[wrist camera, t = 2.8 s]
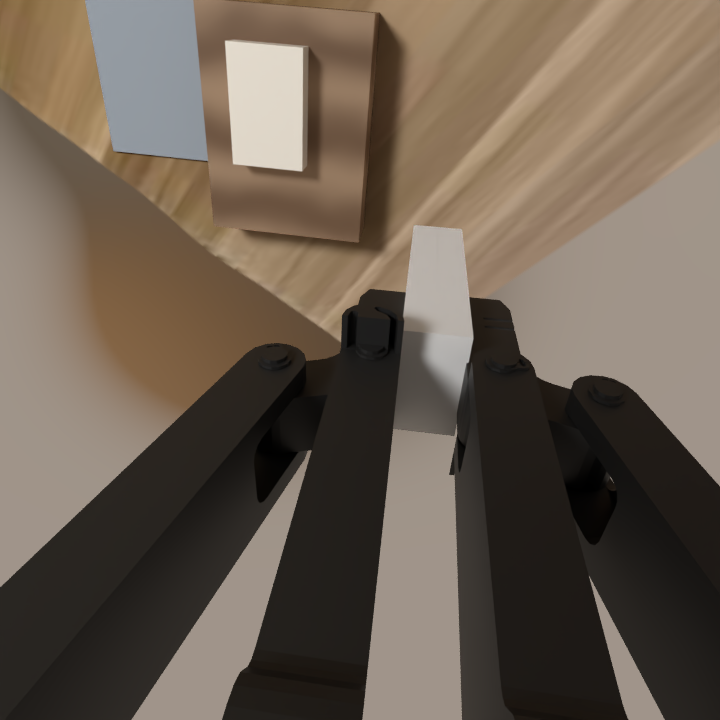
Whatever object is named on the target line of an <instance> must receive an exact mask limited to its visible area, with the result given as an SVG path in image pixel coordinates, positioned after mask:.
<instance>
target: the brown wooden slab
mask: <svg viewBox="0 0 720 720" xmlns="http://www.w3.org/2000/svg"><path fill="white" fill-rule="evenodd" d="M193 2H194V13H195V24H196V35H197V46H198V57H199V68H200V79H201V90H202V101H203V112H204V122H205V133H206V144H207V155H208V166H209V177H210V188H211V199H212V210H213V221H214V226H218V227H227V228H235V229H244V230H253V231H262V232H270V233H279V234H288V235H297V236H305V237H314V238H323V239H332V240H340V241H349V242H358V243H359V240H360V237H361V234H362V232H363V229H364V218H365V205H366V192H367V178H368V165H369V152H370V139H371V126H372V112H373V99H374V86H375V73H376V59H377V46H378V33H379V20H380V13H375V12H363V11H351V10H339V9H328V8H316V7H304V6H292V5H280V4H269V3H257V2H245V1H233V0H193ZM227 40H245V41H256V42H267V43H278V44H289V45H300V46H309V53H308V139H307V166H306V168H305V169H304V170H303V171H293V170H284V169H274V168H265V167H255V166H246V165H236V164H233V156H232V141H231V125H230V110H229V95H228V80H227V65H226V49H225V41H227Z"/></svg>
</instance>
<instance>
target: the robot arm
mask: <svg viewBox="0 0 720 720" xmlns="http://www.w3.org/2000/svg"><path fill="white" fill-rule="evenodd" d="M456 424H457V438H456V444H455V448H454V454H453V458H452V463H451V468H450V473H449V475H454V474H455V500H456V533H457V562H458V563H457V566H458V598H459V629H460V630H459V632H460V665H461V695H462V696H461V698H462V720H628V718H627V716H626V713H625V710H624V707H623V704H622V700H621V697H620V693H619V689H618V685H617V681H616V677H615V674H614V670H613V666H612V662H611V658H610V654H609V651H608V647H607V643H606V640H605V636H604V632H603V628H602V624H601V620H600V616H599V613H598V609H597V605H596V602H595V598H594V594H593V590H592V586H591V582H590V579H589V576H590V578H591V580H592V582H593V583H594V586H595V587H596V589H597V591H598V593H599V595H600V597H601V599H602V601H603V603H604V605H605V607H606V608H607V610H608V612H609V614H610V616H611V618H612V620H613V622H614V623H615V626H616V627H617V629H618V631H619V633H620V635H621V637H622V639H623V641H624V643H625V645H626V646H627V648H628V650H629V652H630V654H631V656H632V658H633V660H634V662H635V664H636V666H637V667H638V669H639V671H640V673H641V675H642V677H643V679H644V681H645V683H646V684H647V686H648V688H649V690H650V692H651V694H652V696H653V698H654V700H655V702H656V703H657V706H658V707H659V709H660V711H661V713H662V715H663V717H664V719H665V720H720V486H719V485H718V484H717V483H716V482H715V481H714V480H713V478H712V477H711V476H710V475H709V474H708V473H707V472H706V470H705V469H704V468H703V467H702V466H701V465H700V464H699V463H698V461H697V460H696V459H695V458H694V457H693V456H692V455H691V454H690V453H689V452H688V450H687V449H686V448H685V447H684V446H683V445H682V444H681V443H680V441H679V440H678V439H677V438H676V437H675V436H674V435H673V434H672V432H671V431H670V430H669V429H668V428H667V427H666V426H665V425H664V424H663V422H662V421H661V420H660V419H659V418H658V417H657V416H656V414H655V413H654V412H653V411H652V410H651V409H650V408H649V407H648V406H647V404H646V403H645V402H644V401H643V400H642V399H641V398H640V397H639V396H638V394H637V393H635V392H634V391H633V390H632V389H631V388H629V387H628V386H626V385H625V384H623V383H620V382H618V381H617V380H615V379H612V378H608V377H604V376H592V375H590V376H584V377H580V378H578V379H577V380H575V381H574V382H573V385H572V388H571V389H567V388H564V387H561V386H558V385H554V384H551V383H549V382H546V381H543V380H541V379H540V378H538V377H536V373H535V370H534V367H533V366H532V364H531V362H530V361H529V360H528V359H526V358H525V357H524V356H522V355H520V351H519V346H518V342H517V338H516V334H515V331H514V325H513V322H512V317H511V313H510V310H509V309H508V308H507V307H506V306H505V305H504V304H503V303H502V302H501V301H500V300H491V299H481V298H471V297H469V291H468V281H467V272H466V263H465V253H464V244H463V234H462V229H454V228H442V227H431V226H419V225H414V228H413V237H412V245H411V254H410V262H409V271H408V279H407V288H406V293H405V292H395V291H385V290H375V289H370V290H368V291H367V292H366V293H365V294H363V295H362V296H361V297H360V300H359V304H358V305H355V306H353V307H351V308H349V309H347V310H346V311H345V312H344V313H343V315H342V337H341V351H340V353H339V354H337V355H335V356H333V357H330V358H327V359H321V360H313V361H306V359H305V355H304V353H302V351H301V350H299V349H298V348H296V347H293V346H291V345H287V344H280V343H274V344H265V345H262V346H259V347H255V348H254V349H252V350H251V351H249V352H248V353H246V354H245V355H244V356H243V357H242V358H241V359H240V360H239V361H238V362H237V363H236V364H235V365H234V366H233V367H232V368H231V369H230V370H229V371H227V372H226V373H225V375H223V376H222V377H221V378H220V379H219V380H218V381H217V382H216V383H215V384H214V385H213V386H212V387H211V388H210V389H209V390H208V391H206V392H205V393H204V394H203V395H202V396H201V397H200V398H199V399H198V400H197V401H196V402H195V403H194V404H193V405H192V406H191V407H190V408H189V409H188V410H186V411H185V412H184V413H183V414H182V415H181V416H180V417H179V418H178V419H177V420H176V421H175V422H174V423H173V424H172V425H171V426H170V427H169V428H168V429H166V430H165V431H164V432H163V433H162V434H161V435H160V436H159V437H158V438H157V439H156V440H155V441H154V442H153V443H152V444H151V445H150V446H149V447H148V448H146V450H144V451H143V452H142V453H141V454H140V455H139V456H138V457H137V458H136V459H135V460H134V461H133V462H132V463H131V464H130V465H129V466H128V467H127V468H125V469H124V470H123V471H122V472H121V473H120V474H119V475H118V476H117V477H116V478H115V479H114V480H113V481H112V482H111V483H110V484H109V485H108V486H107V487H105V488H104V489H103V490H102V491H101V492H100V493H99V494H98V495H97V496H96V497H95V498H94V499H93V500H92V501H91V502H90V503H89V504H88V505H87V506H85V508H83V510H81V512H79V513H78V514H77V515H76V516H75V517H74V518H73V519H72V520H71V521H70V522H69V523H68V524H67V525H66V526H65V527H63V528H62V529H61V530H60V531H59V532H58V533H57V534H56V535H55V536H54V537H53V538H52V539H51V540H50V541H49V542H48V543H47V544H45V546H43V547H42V548H41V549H40V550H39V551H38V552H37V553H36V554H35V555H34V556H33V557H32V558H31V559H30V560H29V561H28V562H27V563H26V564H24V566H22V567H21V568H20V569H19V570H18V571H17V572H16V573H15V574H14V575H13V576H12V577H11V578H10V579H9V580H8V581H7V582H6V583H5V584H3V585H2V587H0V720H131V719H132V718H133V716H134V715H135V713H136V712H137V710H138V709H139V707H140V706H141V704H142V703H143V701H144V700H145V698H146V697H147V695H148V694H149V692H150V691H151V689H152V688H153V686H154V685H155V683H156V682H157V680H158V679H159V677H160V676H161V674H162V673H163V671H164V670H165V668H166V667H167V665H168V664H169V662H170V661H171V659H172V658H173V656H174V655H175V653H176V652H177V650H178V649H179V647H180V646H181V644H182V643H183V641H184V640H185V638H186V637H187V635H188V634H189V632H190V631H191V629H192V628H193V626H194V625H195V623H196V622H197V620H198V619H199V617H200V616H201V614H202V613H203V611H204V610H205V608H206V607H207V605H208V604H209V602H210V601H211V599H212V598H213V596H214V595H215V593H216V592H217V590H218V589H219V587H220V586H221V584H222V583H223V581H224V580H225V578H226V577H227V575H228V574H229V572H230V571H231V569H232V568H233V566H234V565H235V563H236V562H237V560H238V559H239V557H240V556H241V554H242V552H243V551H244V549H245V548H246V547H247V545H248V543H249V542H250V541H251V539H252V538H253V536H254V534H255V533H256V531H257V530H258V528H259V527H260V525H261V524H262V522H263V521H264V519H265V518H266V516H267V515H268V513H269V512H270V510H271V509H272V507H273V506H274V504H275V503H276V501H277V500H278V498H279V497H280V495H281V494H282V492H283V491H284V489H285V488H286V486H287V485H288V483H289V482H290V480H291V479H292V477H293V476H294V474H295V473H296V471H297V470H298V468H299V467H300V465H301V464H302V462H303V461H304V459H305V457H306V454H307V451H308V450H312V452H311V455H310V458H309V462H308V465H307V469H306V472H305V476H304V480H303V483H302V486H301V490H300V493H299V497H298V500H297V504H296V507H295V511H294V514H293V518H292V521H291V525H290V528H289V532H288V535H287V539H286V542H285V546H284V549H283V553H282V556H281V560H280V563H279V567H278V570H277V574H276V577H275V581H274V584H273V587H272V591H271V594H270V598H269V601H268V605H267V608H266V612H265V616H264V619H263V623H262V626H261V629H260V633H259V637H258V640H257V644H256V647H255V650H254V653H253V656H252V659H251V662H250V663H249V665H248V667H246V668H245V669H244V670H242V671H241V672H240V674H239V676H238V677H237V679H236V681H235V683H234V685H233V689H232V691H231V694H230V697H229V700H228V703H227V706H226V709H225V712H224V715H223V719H222V720H362V717H363V708H364V698H365V688H366V679H367V669H368V659H369V650H370V641H371V631H372V622H373V613H374V603H375V593H376V584H377V575H378V566H379V556H380V546H381V537H382V528H383V518H384V508H385V499H386V490H387V481H388V471H389V462H390V453H391V443H392V434H393V429H401V430H408V431H417V432H425V433H434V434H442V435H451V436H454V434H455V429H456ZM610 477H611V478H612V480H613V481H612V480H611V479H610ZM613 482H614V483H613ZM588 574H589V575H588Z"/></svg>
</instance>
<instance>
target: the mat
mask: <svg viewBox="0 0 720 720" xmlns="http://www.w3.org/2000/svg"><path fill="white" fill-rule="evenodd" d="M85 2H86V8H87V13H88V18H89V24H90V29H91V34H92V39H93V45H94V50H95V55H96V61H97V66H98V71H99V77H100V82H101V87H102V93H103V98H104V103H105V109H106V114H107V119H108V125H109V130H110V135H111V140H112V146H113V151H118V152H128V153H137V154H146V155H156V156H165V157H175V158H184V159H194V160H203V161H208V155H207V144H206V133H205V122H204V112H203V101H202V90H201V79H200V68H199V57H198V46H197V35H196V24H195V13H194V2H193V0H85Z"/></svg>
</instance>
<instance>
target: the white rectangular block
mask: <svg viewBox="0 0 720 720" xmlns="http://www.w3.org/2000/svg"><path fill="white" fill-rule="evenodd" d="M225 49H226V65H227V80H228V95H229V110H230V125H231V141H232V156H233V164H236V165H246V166H255V167H265V168H274V169H284V170H293V171H303V170H304V169H305V168H306V166H307V139H308V53H309V46H300V45H289V44H278V43H267V42H256V41H245V40H227V41H225Z"/></svg>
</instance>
